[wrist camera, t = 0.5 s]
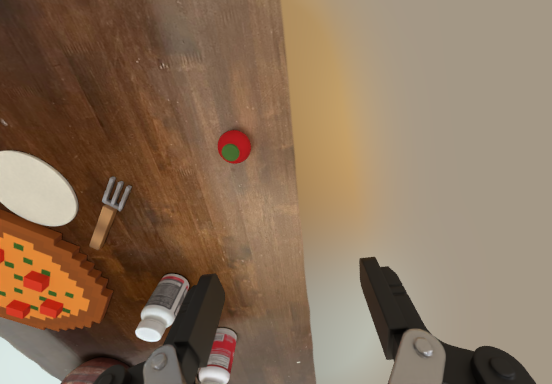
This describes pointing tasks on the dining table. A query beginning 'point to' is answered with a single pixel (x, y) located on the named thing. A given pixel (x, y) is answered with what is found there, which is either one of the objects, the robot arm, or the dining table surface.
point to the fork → (108, 213)
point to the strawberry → (234, 146)
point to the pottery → (90, 371)
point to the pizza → (47, 278)
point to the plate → (35, 189)
